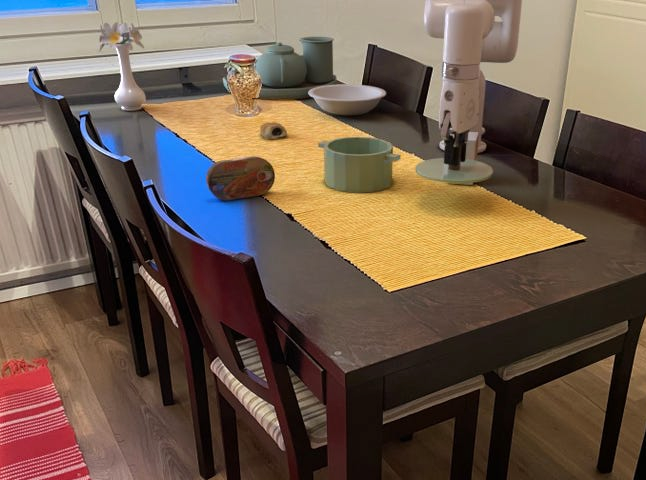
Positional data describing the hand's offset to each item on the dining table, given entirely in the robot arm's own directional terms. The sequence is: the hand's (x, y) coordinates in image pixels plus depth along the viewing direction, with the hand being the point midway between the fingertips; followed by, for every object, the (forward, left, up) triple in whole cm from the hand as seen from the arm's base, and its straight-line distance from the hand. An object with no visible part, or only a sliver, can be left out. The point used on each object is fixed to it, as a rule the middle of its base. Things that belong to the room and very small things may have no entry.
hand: (454, 161), depth 158 cm
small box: (-16, -5, -9) cm, 19 cm away
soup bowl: (-56, -64, -9) cm, 86 cm away
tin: (+22, -41, -9) cm, 47 cm away
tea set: (-74, -104, -9) cm, 128 cm away
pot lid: (0, 0, -2) cm, 2 cm away
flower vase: (-23, -124, -9) cm, 127 cm away
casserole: (-1, -25, -9) cm, 27 cm away
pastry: (-22, -67, -9) cm, 71 cm away
